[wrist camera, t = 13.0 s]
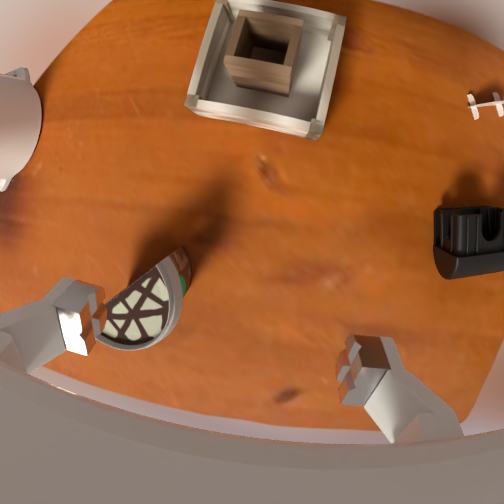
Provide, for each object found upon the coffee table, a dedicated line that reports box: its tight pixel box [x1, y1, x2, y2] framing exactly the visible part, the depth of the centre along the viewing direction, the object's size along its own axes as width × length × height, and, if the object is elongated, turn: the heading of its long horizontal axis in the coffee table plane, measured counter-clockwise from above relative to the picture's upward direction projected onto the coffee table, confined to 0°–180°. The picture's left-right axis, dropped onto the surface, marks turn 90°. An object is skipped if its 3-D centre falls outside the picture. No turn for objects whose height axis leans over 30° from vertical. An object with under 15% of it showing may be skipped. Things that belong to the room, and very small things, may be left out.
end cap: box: [433, 206, 504, 279], centre depth 30 cm, size 10×7×7 cm
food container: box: [95, 246, 192, 351], centre depth 33 cm, size 12×6×10 cm, turn 125°
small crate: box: [223, 9, 304, 98], centre depth 26 cm, size 6×6×8 cm
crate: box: [184, 0, 347, 141], centre depth 28 cm, size 13×13×6 cm
